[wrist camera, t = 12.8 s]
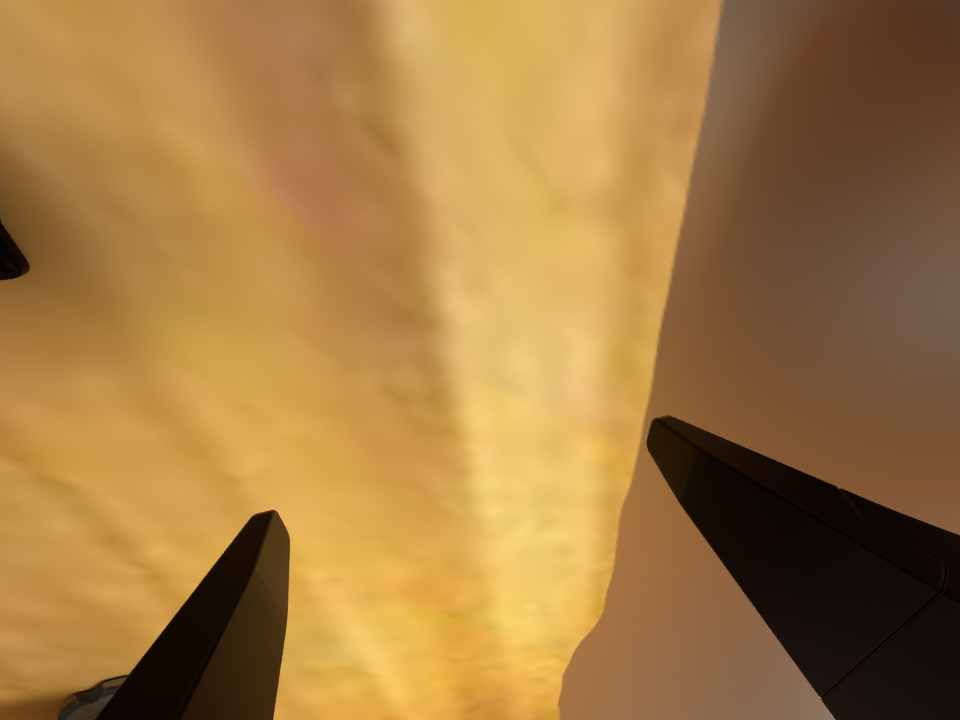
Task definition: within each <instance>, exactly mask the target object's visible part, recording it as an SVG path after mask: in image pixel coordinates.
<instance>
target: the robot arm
mask: <svg viewBox="0 0 960 720" xmlns="http://www.w3.org/2000/svg"><path fill="white" fill-rule="evenodd" d="M3 260H6V261H8V262H9V263H11V264H12V266H13V268H14V269H11V268H8V267H7V266H6V265H5V264H4V263H3ZM29 267H30V266H29V264H28V261H27V260H26V258H25V257H24V256H23V254H22V253H21V251H20V250H19V248H18V247H17V245H16V244H15V242H14V241H13V239H12V238H11V237H10V235H9V234H8V232H7V231H6V229H5V228H4V226H3V225H2V223H1V220H0V280H7V279H14V278H17V277H20V276H22V275H25V274H26V273H27V272H28V271H29ZM647 448H648V451H649V453H650V454H651V456H652V458H653V459H654V461H655V463H656V465H657V466H658V468H659V470H660V471H661V473H662V475H663V477H664V478H665V480H666V482H667V483H668V485H669V487H670V488H671V490H672V492H673V493H674V495H675V497H676V498H677V500H678V502H679V503H680V504H681V506H682V508H683V509H684V510H685V512H686V513H687V515H688V516H689V517H690V519H691V520H692V522H693V523H694V524H695V526H696V527H697V528H698V530H699V531H700V533H701V534H702V535H703V537H704V538H705V539H706V541H707V542H708V544H709V545H710V546H711V548H712V549H713V551H714V552H715V553H716V555H717V556H718V557H719V559H720V560H721V562H722V563H723V564H724V566H725V567H726V568H727V570H728V571H729V573H730V574H731V575H732V577H733V578H734V579H735V581H736V582H737V584H738V585H739V586H740V588H741V589H742V591H743V592H744V593H745V595H746V596H747V597H748V599H749V600H750V602H751V603H752V604H753V606H754V607H755V608H756V610H757V611H758V613H759V614H760V615H761V617H762V618H763V619H764V621H765V622H766V624H767V625H768V627H769V628H770V629H771V631H772V632H773V633H774V635H775V636H776V637H777V639H778V640H779V642H780V643H781V644H782V646H783V647H784V649H785V650H786V651H787V653H788V654H789V656H790V657H791V658H792V660H793V661H794V662H795V664H796V665H797V667H798V668H799V669H800V671H801V672H802V673H803V675H804V676H805V678H806V679H807V680H808V682H809V683H810V684H811V686H812V687H813V689H814V690H815V691H816V693H817V694H818V695H819V696H820V697H821V700H822V701H823V703H824V704H825V706H826V707H827V708H828V709H829V711H830V713H831V714H832V715H833V717H834V718H835V719H836V720H960V535H958V534H955V533H952V532H950V531H947V530H944V529H942V528H939V527H936V526H934V525H931V524H928V523H925V522H923V521H920V520H918V519H915V518H912V517H910V516H907V515H905V514H902V513H899V512H897V511H894V510H892V509H889V508H887V507H885V506H882V505H880V504H877V503H875V502H872V501H870V500H868V499H865V498H863V497H860V496H858V495H856V494H853V493H851V492H849V491H846V490H844V489H841V488H840V489H838V487H837V486H834V485H832V484H830V483H827V482H825V481H823V480H820V479H818V478H816V477H813V476H811V475H809V474H806V473H804V472H802V471H799V470H797V469H794V468H792V467H790V466H787V465H785V464H783V463H780V462H778V461H776V460H773V459H771V458H769V457H766V456H764V455H761V454H759V453H757V452H755V451H752V450H750V449H747V448H745V447H743V446H740V445H738V444H736V443H733V442H731V441H729V440H726V439H724V438H722V437H719V436H717V435H715V434H712V433H710V432H707V431H705V430H703V429H701V428H698V427H696V426H693V425H691V424H689V423H686V422H684V421H682V420H679V419H677V418H675V417H672V416H669V415H668V416H667V415H666V416H661V417H657V418H654V419H653V420H652V422H651V425H650V429H649V433H648V437H647ZM289 559H290V538H289V534H288V531H287V529H286V527H285V525H284V523H283V522H282V520H281V518H280V516H279V514H278V512H277V511H275V510H270V511H266V512H261V513H257V514H255V515H253V516H252V517H251V518H250V519H249V521H248V522H247V523H246V524H245V526H244V527H243V528H242V530H241V531H240V532H239V534H238V535H237V536H236V537H235V539H234V540H233V541H232V543H231V544H230V545H229V546H228V548H227V549H226V550H225V552H224V553H223V554H222V555H221V557H220V558H219V559H218V561H217V562H216V563H215V564H214V566H213V567H212V568H211V570H210V571H209V572H208V573H207V575H206V576H205V577H204V579H203V580H202V581H201V583H200V584H199V585H198V586H197V588H196V589H195V590H194V592H193V593H192V594H191V595H190V597H189V598H188V599H187V601H186V602H185V603H184V604H183V606H182V607H181V608H180V610H179V611H178V612H177V613H176V615H175V616H174V617H173V619H172V620H171V621H170V623H169V624H168V625H167V626H166V628H165V629H164V630H163V632H162V633H161V634H160V635H159V637H158V638H157V639H156V641H155V642H154V643H153V644H152V646H151V647H150V648H149V650H148V651H147V652H146V653H145V655H144V656H143V657H142V659H141V660H140V661H139V662H138V664H137V665H136V666H135V668H134V669H133V670H132V672H131V673H130V674H129V675H128V677H127V678H126V679H125V681H124V682H123V683H122V684H121V686H120V687H119V688H118V690H117V691H116V692H115V693H114V695H113V696H112V697H111V699H110V700H109V701H108V702H107V704H106V705H105V706H104V708H103V709H102V710H101V712H100V713H99V714H98V715H97V717H96V718H95V719H94V720H273V717H274V710H275V703H276V696H277V689H278V682H279V675H280V668H281V661H282V654H283V648H284V641H285V634H286V625H287V615H288V590H289Z"/></svg>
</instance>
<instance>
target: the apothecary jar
mask: <svg viewBox="0 0 960 720" xmlns="http://www.w3.org/2000/svg"><path fill="white" fill-rule="evenodd" d="M127 677H128V676H125V677H120V678H116V679H112V680H108V681H105V682H103V683H102V684H101V685H99V686H98V687H96V688H95V689H94V690H92V691H88V692H81V693H77V694H75V695H74V696H72V697H71V698H70V699H68V700H67V701H66V702H65V703H64V704H63V705H62V707H61V708H60V710H59V713H58V720H94V719H95V718H96V717H97V715H98V714H99V713H100V712H101V710H102V709H103V708H104V706H105V705H106V704H107V702H108V701H109V700H110V699H111V697H112V696H113V695H114V693H115V692H116V691H117V690H118V688H119V687H120V686H121V684H122V683H123V682H124V681H125V679H126V678H127Z"/></svg>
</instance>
